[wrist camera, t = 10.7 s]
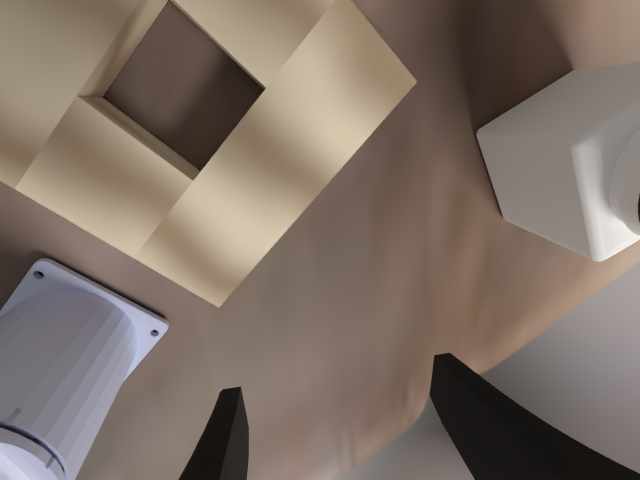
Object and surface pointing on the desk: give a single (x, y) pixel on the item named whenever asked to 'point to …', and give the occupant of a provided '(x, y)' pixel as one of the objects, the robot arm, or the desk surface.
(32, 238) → the desk surface
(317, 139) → the bore block
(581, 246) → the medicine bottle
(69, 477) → the robot arm
